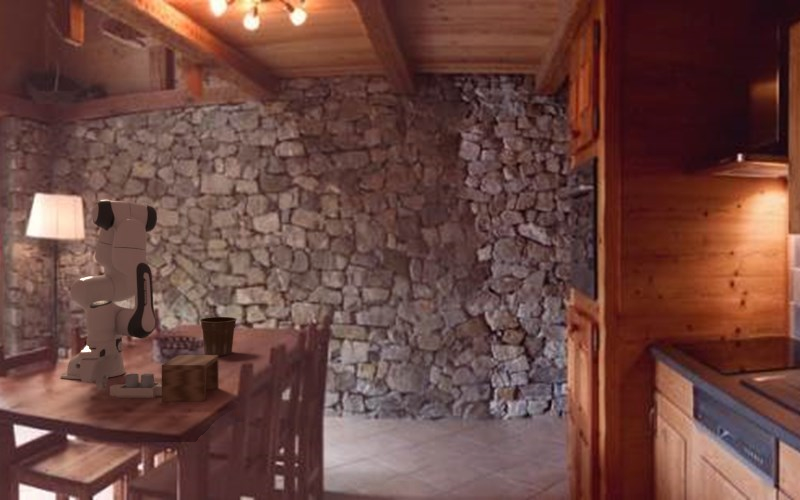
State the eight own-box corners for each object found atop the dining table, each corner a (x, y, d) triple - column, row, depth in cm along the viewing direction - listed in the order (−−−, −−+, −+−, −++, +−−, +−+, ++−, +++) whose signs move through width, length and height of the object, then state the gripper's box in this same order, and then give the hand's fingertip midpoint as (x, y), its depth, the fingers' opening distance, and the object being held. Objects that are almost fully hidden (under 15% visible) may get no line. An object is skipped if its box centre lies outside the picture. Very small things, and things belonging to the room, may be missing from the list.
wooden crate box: (161, 401, 188) (161, 365, 187) (179, 388, 204) (178, 355, 203) (204, 401, 188) (204, 365, 188) (218, 388, 204) (218, 355, 204)
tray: (106, 398, 191) (106, 378, 191) (117, 391, 199) (117, 372, 199) (163, 397, 192) (163, 377, 191) (172, 391, 200) (172, 372, 199)
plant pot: (244, 352, 266) (244, 318, 266) (216, 359, 252) (216, 322, 252) (220, 349, 275) (220, 315, 274) (192, 354, 261) (192, 319, 261)
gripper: (106, 342, 205) (107, 381, 205) (76, 354, 184) (76, 396, 185) (124, 342, 205) (124, 380, 205) (95, 354, 184) (96, 396, 185)
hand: (101, 388), depth 195 cm, fingers closed
